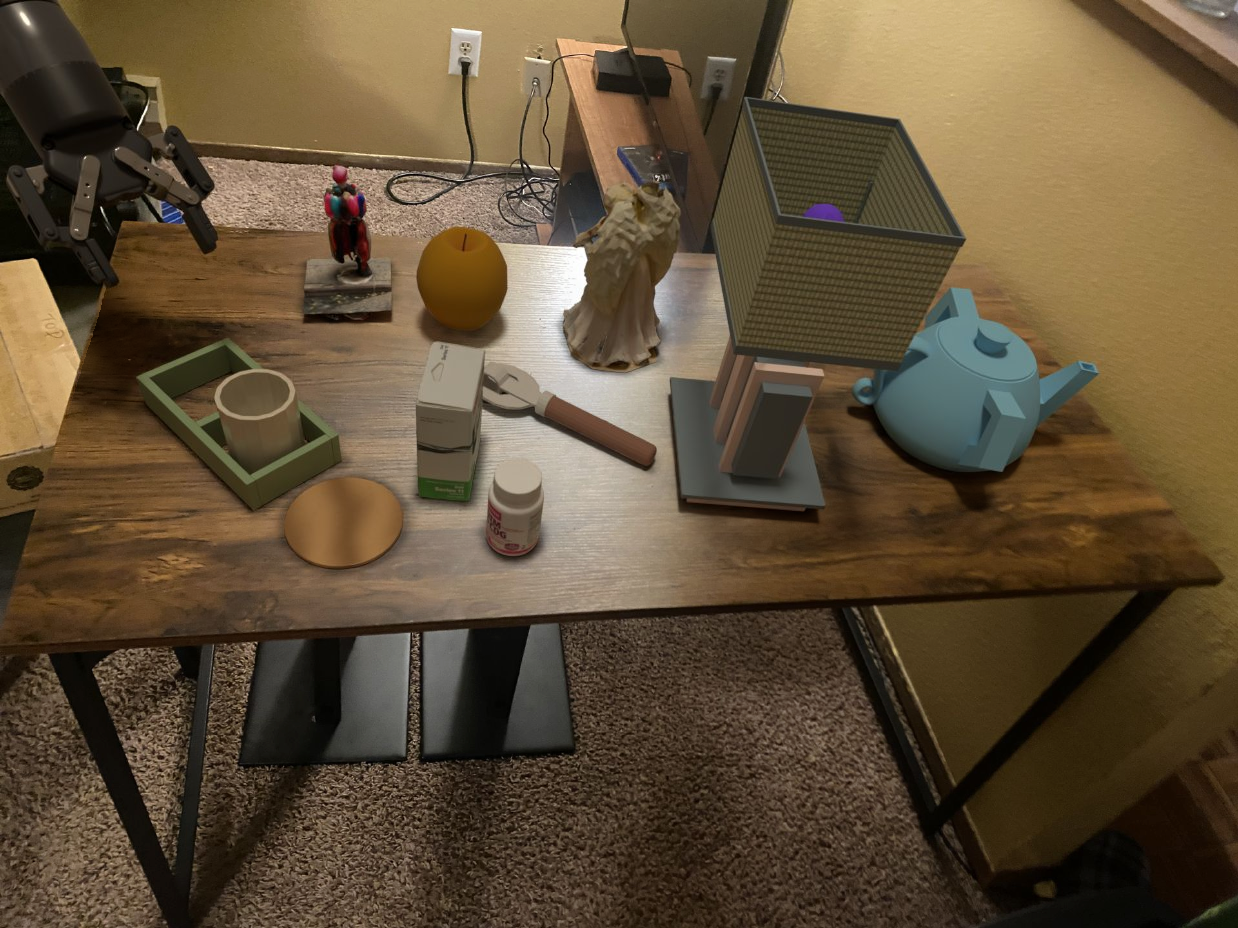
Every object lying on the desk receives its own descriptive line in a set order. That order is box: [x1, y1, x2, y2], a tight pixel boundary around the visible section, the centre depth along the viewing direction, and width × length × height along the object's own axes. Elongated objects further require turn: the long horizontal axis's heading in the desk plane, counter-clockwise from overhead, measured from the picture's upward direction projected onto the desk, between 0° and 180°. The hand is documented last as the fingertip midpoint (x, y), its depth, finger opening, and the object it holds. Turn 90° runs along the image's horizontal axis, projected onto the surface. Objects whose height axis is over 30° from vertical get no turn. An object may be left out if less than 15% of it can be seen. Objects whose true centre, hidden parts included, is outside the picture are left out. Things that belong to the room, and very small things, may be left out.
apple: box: [415, 226, 509, 331], centre depth 91 cm, size 10×10×12 cm
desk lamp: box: [669, 96, 967, 512], centre depth 75 cm, size 18×14×33 cm
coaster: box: [283, 476, 404, 570], centre depth 74 cm, size 10×10×1 cm
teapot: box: [851, 286, 1100, 473], centre depth 91 cm, size 19×19×14 cm
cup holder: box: [136, 337, 343, 511], centre depth 78 cm, size 18×9×4 cm, turn 49°
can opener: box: [482, 361, 658, 467], centre depth 86 cm, size 20×6×3 cm, turn 68°
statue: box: [301, 164, 393, 321], centre depth 91 cm, size 11×9×15 cm
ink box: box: [415, 341, 486, 502], centre depth 76 cm, size 9×5×12 cm, turn 179°
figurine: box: [562, 180, 682, 374], centre depth 90 cm, size 12×12×20 cm
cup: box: [213, 368, 306, 475], centre depth 75 cm, size 6×6×8 cm
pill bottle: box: [485, 457, 545, 557], centre depth 72 cm, size 5×5×8 cm
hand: (164, 267), depth 71 cm, fingers open, 8 cm apart
